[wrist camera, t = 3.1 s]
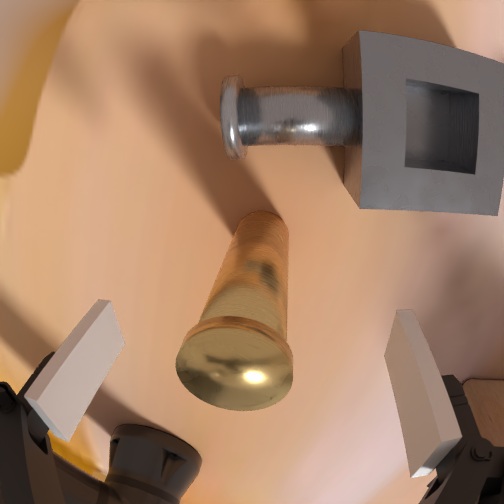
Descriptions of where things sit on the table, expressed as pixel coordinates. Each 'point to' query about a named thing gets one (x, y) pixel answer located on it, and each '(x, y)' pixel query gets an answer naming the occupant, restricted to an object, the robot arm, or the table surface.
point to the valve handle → (244, 323)
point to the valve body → (390, 123)
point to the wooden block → (487, 408)
